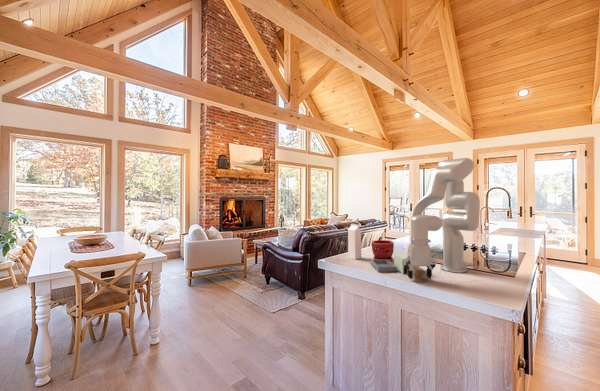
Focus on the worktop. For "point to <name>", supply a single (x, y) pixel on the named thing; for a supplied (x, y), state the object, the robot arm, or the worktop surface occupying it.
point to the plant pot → (382, 249)
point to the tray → (383, 266)
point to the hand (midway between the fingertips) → (419, 277)
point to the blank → (418, 274)
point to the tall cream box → (400, 261)
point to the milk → (354, 242)
